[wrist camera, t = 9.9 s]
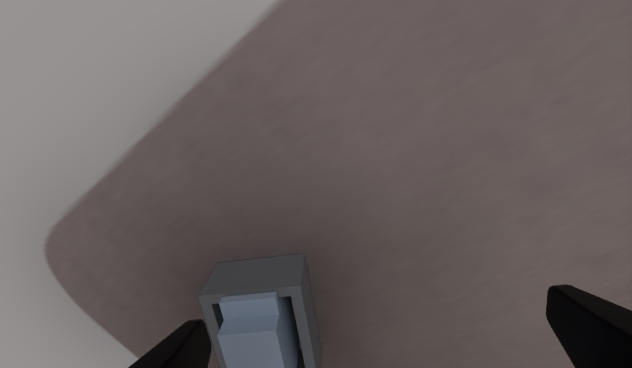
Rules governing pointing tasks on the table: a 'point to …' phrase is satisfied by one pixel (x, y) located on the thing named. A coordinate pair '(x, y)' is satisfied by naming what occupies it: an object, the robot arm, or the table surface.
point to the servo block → (259, 331)
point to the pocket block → (260, 278)
